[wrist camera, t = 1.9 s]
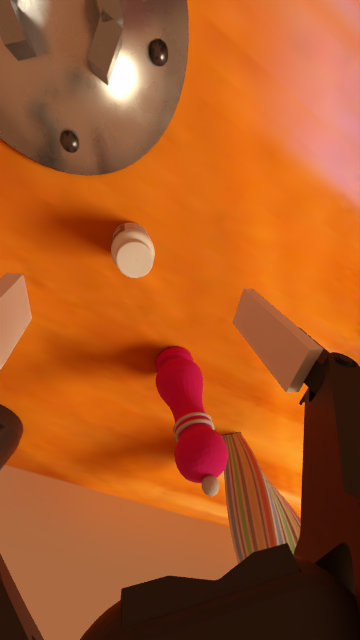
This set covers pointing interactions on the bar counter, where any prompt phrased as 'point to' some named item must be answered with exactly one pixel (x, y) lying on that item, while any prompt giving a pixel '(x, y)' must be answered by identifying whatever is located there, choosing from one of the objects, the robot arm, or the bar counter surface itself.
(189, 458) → the pepper mill
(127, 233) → the pill bottle
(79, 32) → the flange plate
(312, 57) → the bar counter surface
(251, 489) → the vase
